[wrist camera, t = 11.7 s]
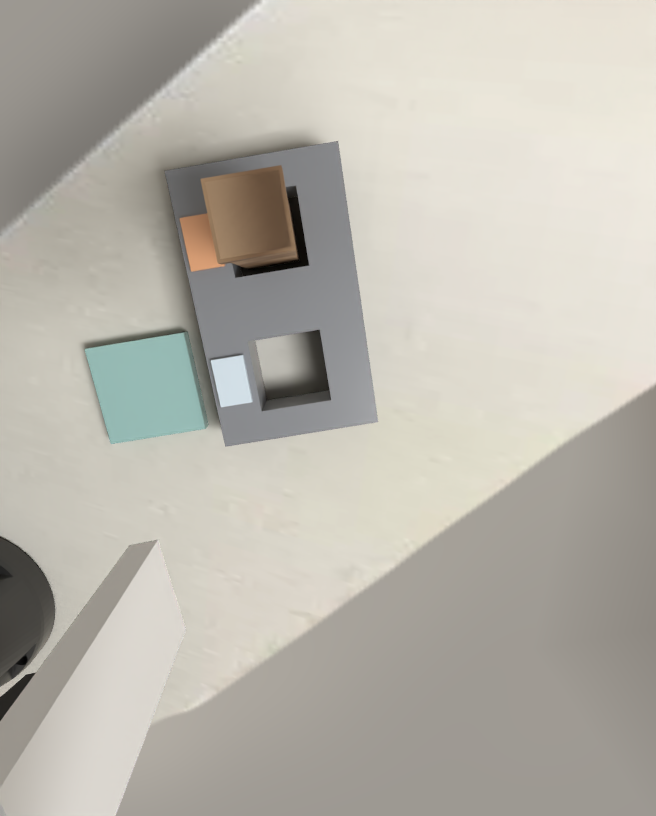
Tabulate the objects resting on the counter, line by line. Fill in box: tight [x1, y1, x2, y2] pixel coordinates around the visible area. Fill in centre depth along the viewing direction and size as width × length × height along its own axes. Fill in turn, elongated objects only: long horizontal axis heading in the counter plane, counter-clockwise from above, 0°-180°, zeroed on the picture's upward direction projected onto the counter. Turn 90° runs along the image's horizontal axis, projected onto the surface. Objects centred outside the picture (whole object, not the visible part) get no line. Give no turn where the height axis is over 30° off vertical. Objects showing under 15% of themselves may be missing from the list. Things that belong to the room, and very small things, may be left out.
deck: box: [85, 332, 209, 444], centre depth 40 cm, size 8×8×1 cm
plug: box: [201, 165, 299, 270], centre depth 32 cm, size 4×4×12 cm
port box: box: [165, 141, 378, 447], centre depth 37 cm, size 12×20×4 cm, turn 9°
